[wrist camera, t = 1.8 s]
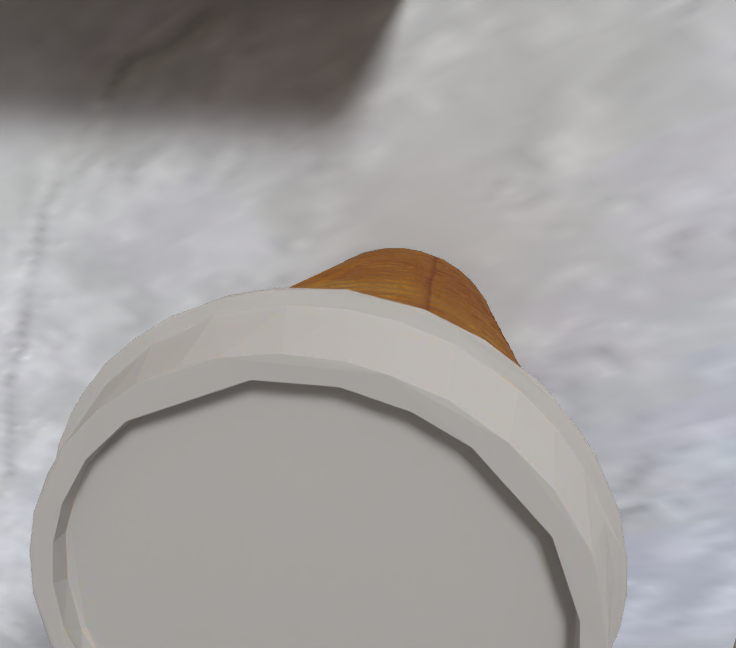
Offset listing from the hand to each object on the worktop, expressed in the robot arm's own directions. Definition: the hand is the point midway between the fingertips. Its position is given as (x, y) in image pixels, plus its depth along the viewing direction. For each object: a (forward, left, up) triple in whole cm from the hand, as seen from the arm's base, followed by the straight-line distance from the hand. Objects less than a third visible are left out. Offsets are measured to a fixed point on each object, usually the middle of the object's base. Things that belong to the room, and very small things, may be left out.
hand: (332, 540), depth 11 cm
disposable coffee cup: (0, 0, -11) cm, 11 cm away
